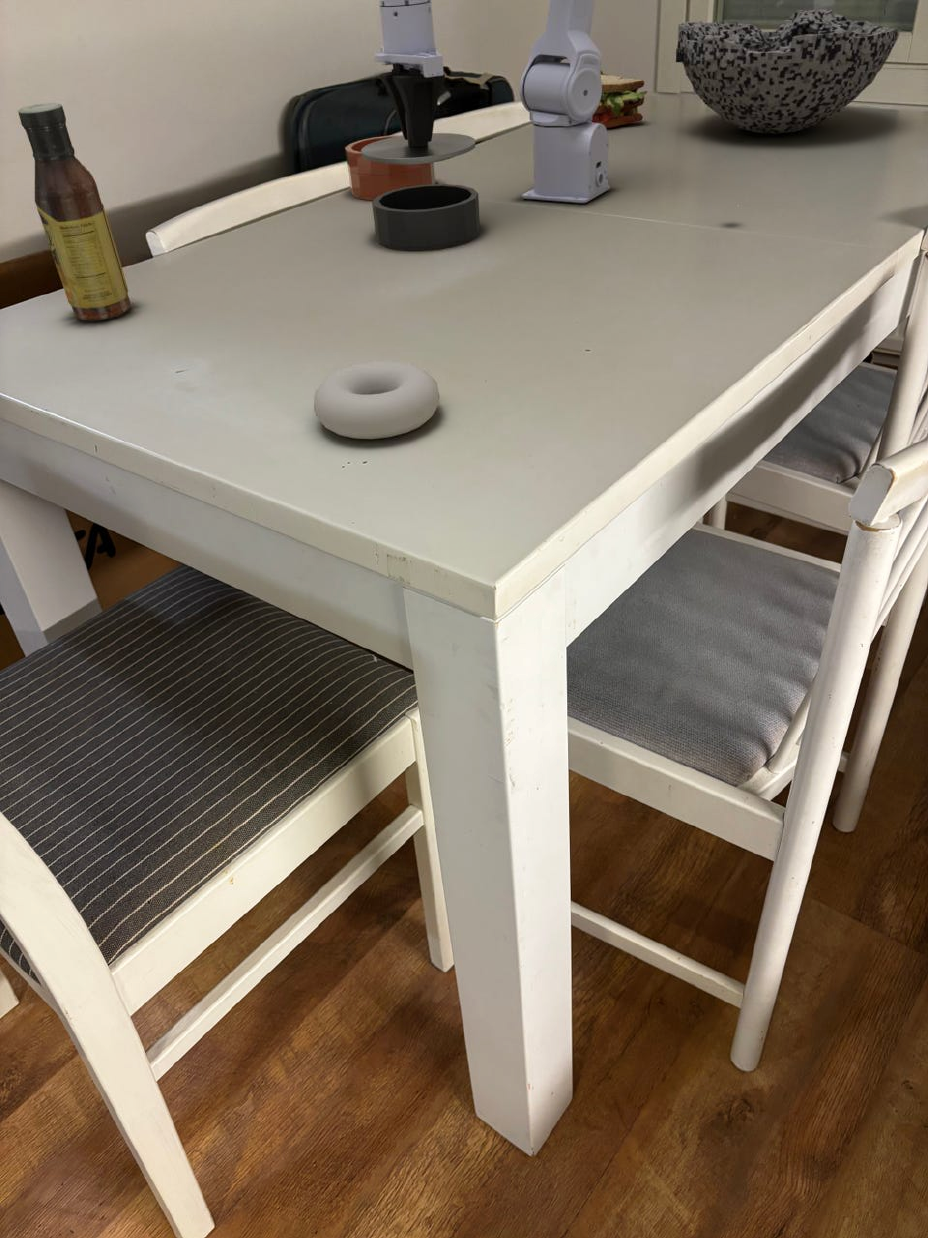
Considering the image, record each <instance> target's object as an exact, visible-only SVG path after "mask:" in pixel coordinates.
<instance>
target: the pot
mask: <svg viewBox="0 0 928 1238" xmlns="http://www.w3.org/2000/svg"><path fill="white" fill-rule="evenodd" d="M399 136H403V134H396V135H393V134H392V135H383V136H376V137H375V136H374V137H370V138H365V139H361V140H357V141H354V142H352V143H349V144H348V145H346V146H345V147H344V151H345V158H346V167H347V172H348V180H349V181H348V182H349V187H350V192H351V196H353V197H354V198H356V199H359V200H364V201H366V200H367V201H373V200H374V199H375V198H376V197H377V196H379V195H382V194H384V193H386V192H389V191H392V190H396V189H400V188H405V187H412V186H420V185H432V184H435V183H436V175H435V162H433V163H427V164H416V165H394V164H387V163H381V162H374V161H370V160H367V159H364V158H363V157H362V155H361V150H362V148H363V147H365V146H366V145H368V144H371V143H373V142H376V141H380V140H384V139H388V138H393V137H399Z"/></svg>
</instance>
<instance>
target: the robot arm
mask: <svg viewBox="0 0 928 1238" xmlns="http://www.w3.org/2000/svg"><path fill="white" fill-rule="evenodd" d="M595 4H596V0H549V6H548V11H547V19H546V27H545V30H544V32H543V33H542V34H541V35H540V36H539V38H537V40H536V41H535V42H534V43H533V45H532V46H531V47H530V51H529V58H528V61H527V64H526V66H525V68H524V70H523V72H522V74H521V78H520V82H519V98H520V101H521V104H522V106H523V107H524V109H525V111H527V112H528V113H529V121H531V122H532V144H533V148H532V149H533V187H534V188H532V189H530V190H528V191H527V192H525V193H523V194H521V198H522V199H525V200H535V201H536V200H537V201H552V202H560V203H561V202H562V203H563V202H564V203H575V204H576V203H577V204H586V203H589V202H590V201H592V200H593V199H596V198H597V197H599V196H600V195H602V194H604V193H605V192H607V191H609V190H610V189H611V185H610V184H609V147H610V146H609V143H610V142H609V133H608V128H606V127H605V126H604V125H603V124H600V123H593V122H591V121H592V115H593V114H594V113H595V111H596V110H597V108H598V106H599V103H600V100H601V95H602V81H601V70H602V61H603V54H602V53H601V52H600V50H599V48H598V47H597V46H596V44H595V43H594V41H593V40H592V39H591V31H592V30H591V29H592V24H593V19H594V18H593V17H594V10H595ZM432 5H433V4H432V0H378V6H379V14H380V25H381V36H382V44H383V45H380V46H379V49H380V52H379V53H374V62H378V63H381V65H382V66H392V68H391V71H388V72H383V73H380V75H379V77H380V80H381V82H382V84H383V85H384V87H385V88H386V91H387V92H388V94H389V97H390V99H391V102H392V104H393V107H394V110H395V113H396V116H397V120H398V123H399V127H400V131H401V133H402V135H403V136H404V139H405V140H408V139H407V129H406V118H405V112H406V114H407V119H408V124H409V129H410V134H411V137H412V140H413V143H414V144H419V143H425V142H431V140H432V134H433V133H434V126H435V117H436V110H437V105H438V100H439V97H440V93H441V91H442V88H443V86H444V83H445V80H446V75H445V73H444V62H443V60H444V59H443V55H442V54H440V53H439V52H438V48H437V47H436V46H435V45H436V44H435V32H434V19H433V17H434V16H433V6H432ZM564 60H565V61H566V60H568V62H563V61H564Z"/></svg>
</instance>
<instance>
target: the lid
mask: <svg viewBox="0 0 928 1238" xmlns="http://www.w3.org/2000/svg"><path fill="white" fill-rule="evenodd" d="M405 118H406V129H407V139H408V140H405V139H404V136H399V137H393V138H388V139H384V140H380V141H376V142H373V143H371V144H368V145H366V146H365V147H363V148H362V150H361V155H362V157H363V158H364V159H367V160H370V161H374V162H381V163H387V164H394V165H416V164H427V163H433V162H434V163H439V162H443V161H446V160H447V161H448V160H450V159H453V158H455V157H458V156H462V155H464V154H467V153H469V152H471V151H473V150H475V148H476V146H477V143H476V139H475V138H474V137H473V136H470V135H467V134H461V133H451V132H433V134H432V140H431V142H425V143H419V144H414V143H413V140H412V137H411V134H410V129H409V124H408V119H407V114H406V112H405Z"/></svg>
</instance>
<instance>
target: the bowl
mask: <svg viewBox="0 0 928 1238" xmlns="http://www.w3.org/2000/svg"><path fill="white" fill-rule="evenodd" d="M833 11H834V9H799V10H796V11H794V13H792V14H791V15H790V17H788V18H787V19H785V20H783V21H782V24H781V25H779V26H778V28H777V29H776V30H775V31H762V30H761V28H759V27H758V26H756V25H755V24H752V23H751V24H750V23H739V22H737V21H729V22H728V21H727V22H726V21H712V22H703V21H702V20H701V21H693V22H690V21H685V22H682V23H680V24H679V23H678V26H677V27H678V28H677V29H678V30H677V45H676V46H677V47H676V48H675V63H682V65H683V68H684V72H685V76H686V77H687V78H688V80H689V81H690V83H691V85H692V88H693V92H694V93H695V94H696V95H697V96H698V98H699V99H700V100H702V102H703V103H704V105H706V106H707V107H708V108H709V109H711V110H712V111H714V112H715V113H716V114H717V115H719V117H721V118H722V119H723V121H725V122H729V123H730V125H735V126H736V127H737V128H739V129H741V130H744V131H749V132H753V133H758V134H770V135H779V134H786V133H793V132H798V131H802V130H805V129H808V128H810V127H812V126H816V125H819V124H820V123H821V122H823V121H825V120H828V119H831V118H833V117H834V116H835V115H836V114H837V113H840V111H841V110H842V109H844V108H845V107H846V106H848V105H850V104H851V103H852V102H853V101H854V100H855V99H856V98H858V97H859V95H861V93H862V92H863V91H865V90H866V89H867V88H868V87H869V86H870V85H871V84H872V83H873V82H874V80H875V79H876V77H877V75H878V73H879V72H880V71H881V70H882V68H884V66H885V63H886V62H887V60H888V59H889V56H890V55H891V53H892V50H893V48H894V47H895V45H896V43H897V41H898V39H899V36H900V34H901V27H887V26H878V25H876V24H874V23H872V21H870V20H855V19H846V17H845V16H844V15H841V14H837V13H833Z"/></svg>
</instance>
